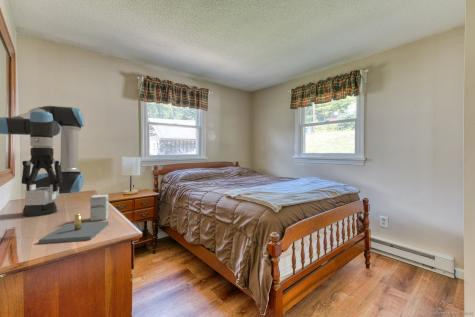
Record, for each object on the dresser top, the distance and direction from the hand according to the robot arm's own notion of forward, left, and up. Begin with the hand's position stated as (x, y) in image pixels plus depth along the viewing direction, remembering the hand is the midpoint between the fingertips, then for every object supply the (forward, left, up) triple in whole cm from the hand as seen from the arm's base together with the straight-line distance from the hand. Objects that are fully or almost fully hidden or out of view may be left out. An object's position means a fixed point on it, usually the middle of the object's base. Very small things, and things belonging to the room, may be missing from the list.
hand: (43, 199), depth 96 cm
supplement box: (-18, +16, -15) cm, 28 cm away
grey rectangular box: (0, 0, -1) cm, 1 cm away
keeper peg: (+3, +15, -14) cm, 20 cm away
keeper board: (+3, +15, -15) cm, 21 cm away
